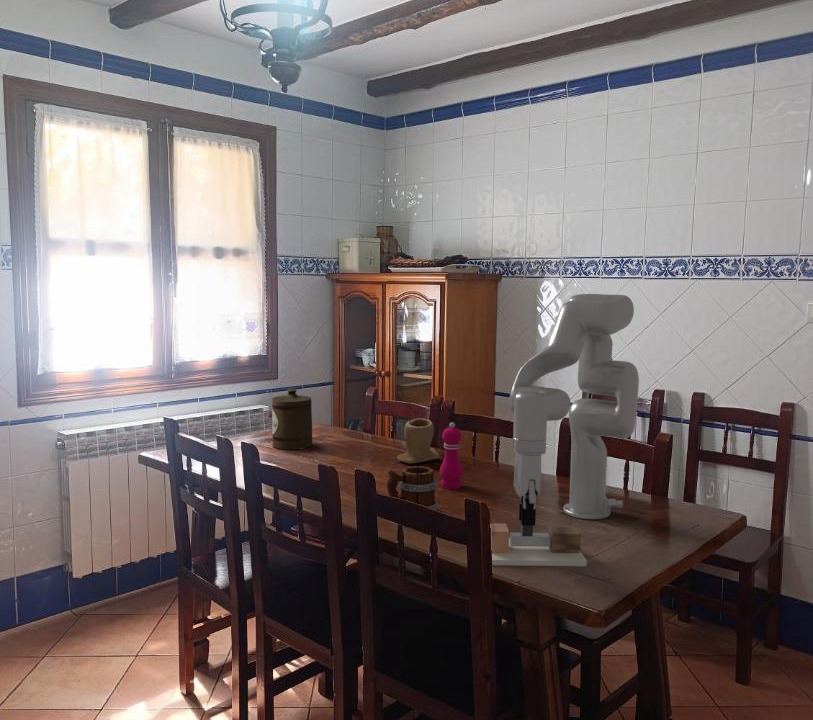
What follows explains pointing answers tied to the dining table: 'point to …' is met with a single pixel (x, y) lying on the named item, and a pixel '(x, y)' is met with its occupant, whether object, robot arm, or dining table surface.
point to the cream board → (537, 557)
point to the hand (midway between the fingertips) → (527, 522)
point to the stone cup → (418, 441)
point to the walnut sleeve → (564, 540)
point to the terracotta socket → (499, 538)
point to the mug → (414, 485)
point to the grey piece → (530, 537)
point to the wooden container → (291, 421)
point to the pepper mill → (451, 458)
